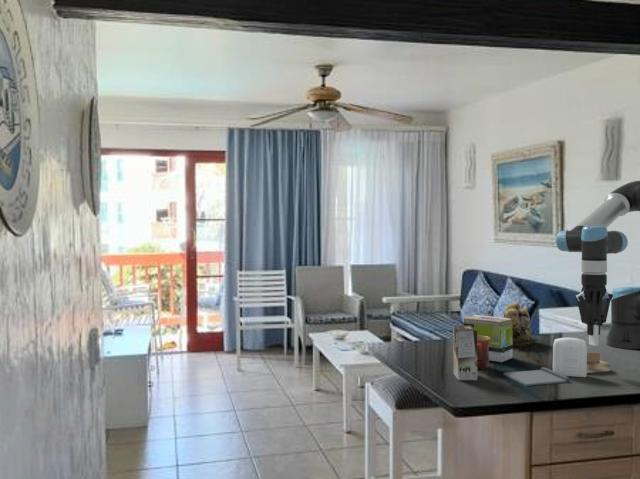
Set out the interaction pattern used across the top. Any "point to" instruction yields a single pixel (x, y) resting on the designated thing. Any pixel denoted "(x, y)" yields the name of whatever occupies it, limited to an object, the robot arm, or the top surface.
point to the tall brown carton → (593, 357)
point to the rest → (598, 367)
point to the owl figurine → (519, 325)
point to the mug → (483, 351)
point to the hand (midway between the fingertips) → (593, 344)
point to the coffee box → (465, 352)
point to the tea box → (494, 335)
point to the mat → (537, 377)
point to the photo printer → (570, 357)
